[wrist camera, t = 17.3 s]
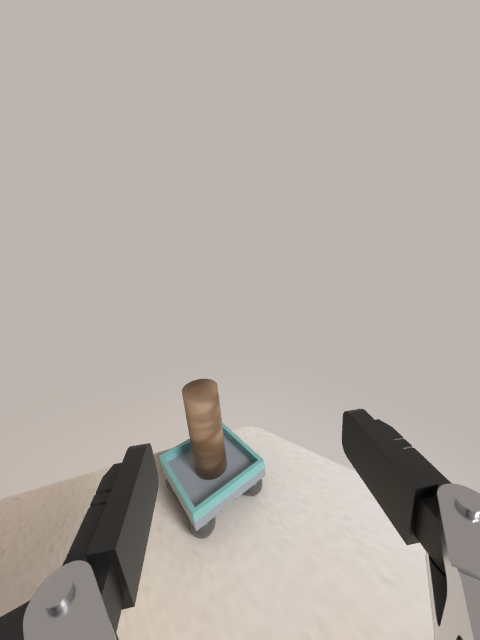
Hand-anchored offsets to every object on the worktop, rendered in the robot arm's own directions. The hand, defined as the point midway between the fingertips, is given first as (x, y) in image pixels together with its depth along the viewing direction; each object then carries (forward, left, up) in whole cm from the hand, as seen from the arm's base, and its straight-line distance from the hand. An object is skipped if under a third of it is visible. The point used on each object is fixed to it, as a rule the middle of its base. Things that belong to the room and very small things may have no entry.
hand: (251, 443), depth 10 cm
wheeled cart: (+8, +22, -30) cm, 38 cm away
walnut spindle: (+8, +22, -25) cm, 34 cm away
